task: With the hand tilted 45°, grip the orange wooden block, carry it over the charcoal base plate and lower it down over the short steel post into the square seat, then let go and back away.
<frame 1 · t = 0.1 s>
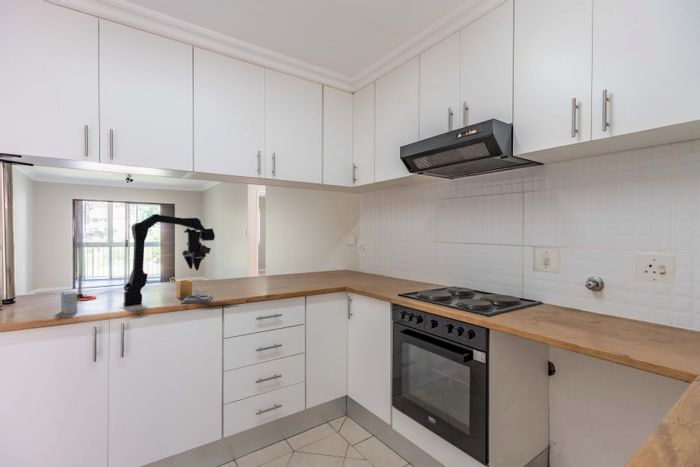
hand: (193, 269, 175), 15 cm above the counter, tool pointing down, fingers open, 9 cm apart
medicine box: (69, 312, 140), on the counter
post plate: (197, 300, 165), on the counter
tow hook: (85, 299, 166), on the counter
orange wooden block: (184, 296, 173), on the counter
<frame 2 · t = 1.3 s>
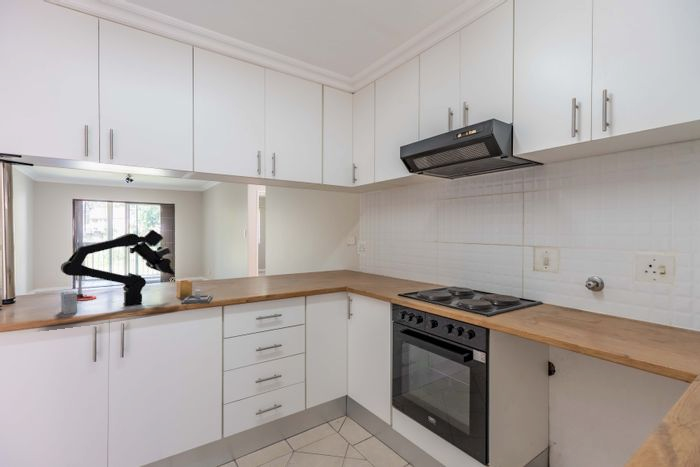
hand: (170, 273, 168), 13 cm above the counter, tool tilted 45°, fingers open, 9 cm apart
nothing on the counter moved.
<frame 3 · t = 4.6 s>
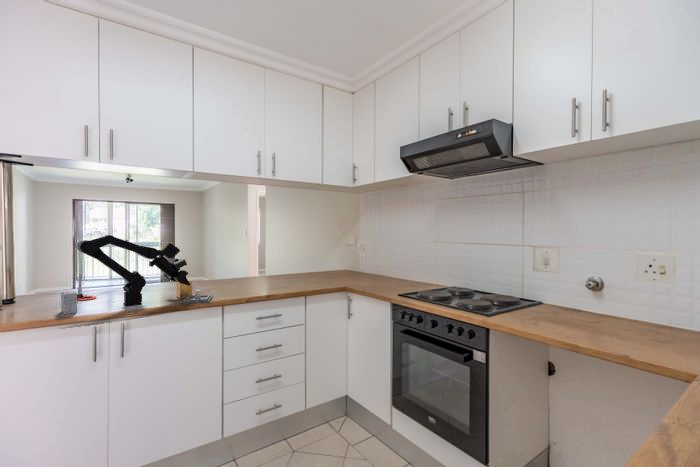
hand: (187, 284, 174), 7 cm above the counter, tool tilted 45°, fingers closed on orange wooden block, 6 cm apart
orange wooden block: (184, 296, 173), on the counter, touching gripper
everything else where it was.
when the fingers open (8 cm above the counter, at t = 9.8 s): orange wooden block drops 1 cm, resting on post plate.
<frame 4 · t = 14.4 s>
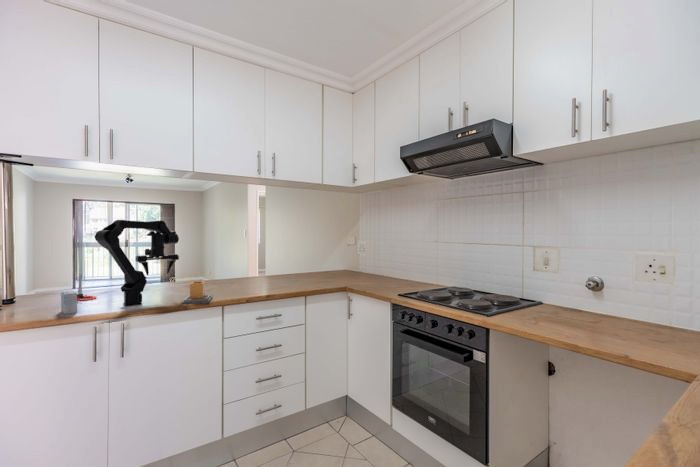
hand: (157, 274, 167), 13 cm above the counter, tool pointing down, fingers open, 9 cm apart
orange wooden block: (197, 298, 165), point 1 cm above the counter, touching post plate
everything else where it was.
at the end: orange wooden block 0.0 cm off-centre on the post plate, point 0.8 cm above the post plate's base; orange wooden block tilted 0°; the gripper is holding nothing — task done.
